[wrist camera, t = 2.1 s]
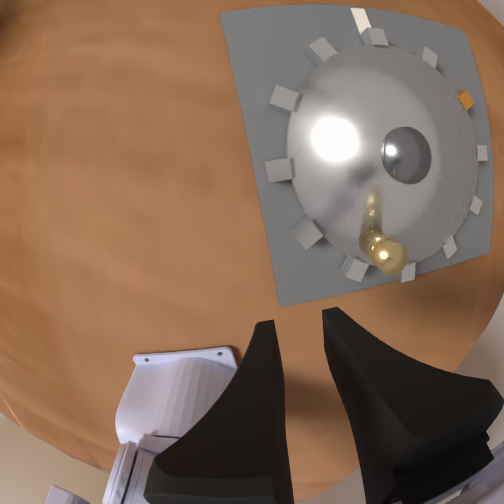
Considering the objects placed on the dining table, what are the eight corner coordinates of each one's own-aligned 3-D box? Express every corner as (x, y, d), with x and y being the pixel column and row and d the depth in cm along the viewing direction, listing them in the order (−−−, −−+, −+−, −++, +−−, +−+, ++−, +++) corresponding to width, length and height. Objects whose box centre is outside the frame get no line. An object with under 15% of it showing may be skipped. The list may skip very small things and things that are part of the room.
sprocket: (288, 299, 19) (297, 338, 15) (237, 40, 13) (233, 7, 9) (475, 252, 18) (507, 272, 14) (456, 50, 12) (490, 40, 7)
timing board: (278, 299, 20) (279, 308, 19) (220, 20, 13) (219, 12, 12) (483, 249, 19) (490, 253, 18) (458, 33, 12) (465, 30, 11)
